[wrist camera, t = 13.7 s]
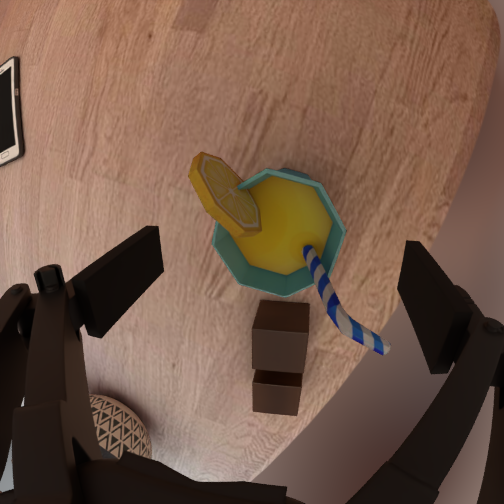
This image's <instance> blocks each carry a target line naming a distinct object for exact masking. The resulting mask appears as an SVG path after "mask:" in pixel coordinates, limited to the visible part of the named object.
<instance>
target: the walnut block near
mask: <svg viewBox="0 0 504 504" xmlns="http://www.w3.org/2000/svg"><path fill="white" fill-rule="evenodd" d="M309 312H310V304H308V303H293V302H279V301H266V300H260V303H259V307H258V310H257V313H256V317H255V320H254V323H253V327H252V369H259V370H269V371H279V372H291V373H304V367H305V360H306V352H307V344H308V336H309Z"/></svg>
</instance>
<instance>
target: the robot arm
mask: <svg viewBox="0 0 504 504" xmlns="http://www.w3.org/2000/svg"><path fill="white" fill-rule="evenodd" d="M163 272H164V267H163V259H162V252H161V244H160V235H159V226H145V227H144V228H142V229H141V230H139V231H138V232H136V233H135V234H133V235H132V236H130V237H129V238H128V239H126V240H125V241H123V242H122V243H120V244H119V245H117V246H116V247H114V248H113V249H112V250H110V251H109V252H107V253H106V254H104V255H103V256H102V257H100V258H99V259H97V260H96V261H95V262H93V263H92V264H90V265H89V266H88V267H86V268H85V269H84V270H82V271H81V272H79V273H78V274H77V275H75V276H74V277H73V278H71V279H70V280H69V281H68V282H66V283H65V281H64V277H63V273H62V269H61V266H60V265H58V264H52V265H47V266H44V267H41V268H39V269H38V270H37V271H35V273H34V277H35V280H36V284H37V287H38V290H39V293H35V294H31V292H30V289H29V286H28V284H25V283H21V284H15V285H13V286H12V287H11V288H9V289H8V290H7V291H6V292H5V293H4V295H3V296H2V297H1V299H0V481H1V478H2V475H3V472H4V469H5V466H6V462H7V458H8V453H9V449H10V444H11V441H12V464H13V482H14V489H12V490H8V491H5V492H1V491H0V504H305V503H303V502H301V501H298V500H296V499H293V498H290V497H287V496H286V491H287V487H286V486H275V485H267V484H259V483H252V482H245V481H237V482H198V481H194V480H192V479H190V478H188V477H186V476H184V475H182V474H180V473H179V472H177V471H175V470H173V469H171V468H169V467H168V466H166V465H164V464H162V463H161V462H159V461H155V460H152V459H149V458H146V457H143V456H140V455H137V454H134V453H132V452H129V451H126V450H124V452H123V454H122V455H121V457H120V459H112V458H107V459H103V457H102V454H101V450H100V446H99V442H98V437H97V433H96V428H95V424H94V419H93V414H92V408H91V403H90V397H89V391H88V384H87V377H86V370H85V362H84V353H83V342H82V335H81V332H80V328H81V327H82V326H83V325H84V324H85V327H86V330H87V333H88V335H90V336H93V337H97V338H101V339H102V337H103V336H104V335H105V334H106V333H107V332H108V331H109V330H110V329H111V327H112V326H113V325H114V324H115V323H116V322H117V321H118V320H119V319H120V318H121V316H122V315H123V314H124V313H125V312H126V311H127V310H128V309H129V308H130V307H131V306H132V305H133V304H134V302H135V301H136V300H137V299H138V298H139V297H140V296H141V295H142V294H143V293H144V292H145V291H146V290H147V289H148V288H149V287H150V285H151V284H152V283H153V282H154V281H155V280H156V279H157V278H158V277H159V276H160V275H161V274H162V273H163ZM397 290H398V292H399V294H400V296H401V299H402V301H403V303H404V306H405V308H406V310H407V313H408V315H409V318H410V320H411V322H412V325H413V327H414V330H415V332H416V335H417V338H418V340H419V343H420V345H421V348H422V351H423V353H424V356H425V359H426V362H427V365H428V367H429V370H430V373H431V374H444V373H448V372H449V370H450V367H451V365H452V363H453V361H454V363H455V366H454V368H453V369H452V371H451V373H450V375H449V376H448V378H447V380H446V381H445V383H444V385H443V386H442V388H441V389H440V391H439V393H438V394H437V396H436V397H435V399H434V401H433V402H432V403H431V405H430V406H429V408H428V409H427V411H426V412H425V414H424V415H423V417H422V418H421V420H420V421H419V422H418V424H417V425H416V426H415V428H414V429H413V431H412V432H411V433H410V435H409V436H408V437H407V438H406V440H405V441H404V442H403V444H402V445H401V446H400V447H399V449H398V450H397V451H396V452H395V454H394V455H393V456H392V457H391V458H390V459H389V461H386V462H385V463H384V464H383V465H382V466H381V467H380V469H379V470H378V471H377V472H376V473H375V474H374V475H373V476H372V477H371V478H370V479H369V480H368V481H367V483H366V484H365V485H364V486H363V487H362V488H361V489H360V490H359V491H358V492H357V493H356V494H355V495H354V496H353V497H352V498H351V499H350V500H349V501H348V502H347V503H346V504H433V503H434V502H435V500H436V498H437V497H438V494H439V491H438V488H439V487H440V485H441V483H442V482H443V480H444V478H445V477H446V475H447V474H448V472H449V470H450V468H451V467H452V465H453V463H454V462H455V460H456V458H457V456H458V454H459V453H460V451H461V449H462V447H463V445H464V443H465V441H466V439H467V437H468V435H469V433H470V431H471V429H472V427H473V425H474V423H475V420H476V418H477V416H478V413H479V412H480V409H481V407H482V404H483V402H484V400H485V397H486V395H487V392H488V390H489V387H490V386H494V387H495V391H494V407H493V419H492V429H491V436H490V443H489V450H488V456H487V461H486V467H485V472H484V476H483V481H482V485H481V489H480V493H479V497H478V501H477V504H504V325H503V324H501V323H500V322H499V321H497V320H495V319H492V318H488V317H484V315H483V314H482V312H481V311H480V309H479V308H478V307H477V305H476V304H474V301H473V300H472V299H471V297H470V296H469V294H468V293H467V292H466V291H465V290H464V289H462V288H461V287H460V286H458V285H453V283H452V282H451V280H450V279H449V278H448V277H447V275H446V274H445V273H444V271H443V270H442V269H441V268H440V266H439V265H438V264H437V262H436V261H435V260H434V259H433V257H432V256H431V255H430V253H429V252H428V251H427V250H426V249H425V247H424V246H423V245H422V244H421V243H420V241H408V240H406V245H405V251H404V257H403V262H402V267H401V272H400V277H399V282H398V286H397ZM18 330H19V331H18ZM19 332H20V333H19ZM23 398H24V406H22V407H21V404H22V401H23Z"/></svg>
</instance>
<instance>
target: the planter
mask: <svg viewBox="0 0 504 504" xmlns="http://www.w3.org/2000/svg"><path fill="white" fill-rule="evenodd" d="M89 397H90V403H91V408H92V414H93V419H94V424H95V428H96V433H97V437H98V442H99V446H100V450H101V454H102V457H103V459H107V458H112V459H120V457H121V455H122V454H123V452H124V450H126V451H129V452H132V453H134V454H137V455H140V456H143V457H146V458H149V459H151V458H152V446H151V441H150V438H149V435H148V432H147V430H146V428H145V426H144V425H143V423H142V421H141V420H140V419H139V417H138V416H137V415H136V414H135V413H134V412H133V411H132V410H131V409H129V408H128V407H127V406H126V405H124V404H122V403H121V402H119V401H117V400H115V399H113V398H110V397H107V396H103V395H95V394H89ZM11 461H12V460H11Z"/></svg>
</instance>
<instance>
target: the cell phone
mask: <svg viewBox="0 0 504 504" xmlns="http://www.w3.org/2000/svg"><path fill="white" fill-rule="evenodd" d="M18 89H19V85H18V57H15V56H13V57H11V58H9V59H8V60H7V61H6V62H4V63H3V64H2V65H1V66H0V167H1V166H3V165H6V164H7V163H9V162H12V161H14V160H16V159H18V158H20V157H21V156H22V155H23V152H24V149H23V139H22V131H21V121H20V108H19V90H18Z"/></svg>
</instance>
